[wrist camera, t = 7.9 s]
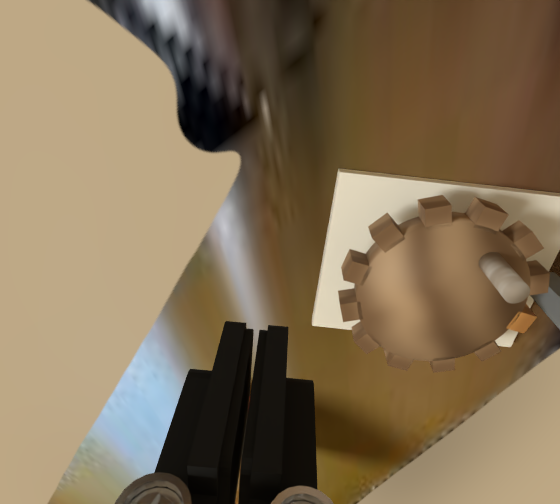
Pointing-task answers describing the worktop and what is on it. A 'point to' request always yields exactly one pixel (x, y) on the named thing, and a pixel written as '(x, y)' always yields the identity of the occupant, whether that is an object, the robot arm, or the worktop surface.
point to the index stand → (404, 205)
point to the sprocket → (442, 284)
